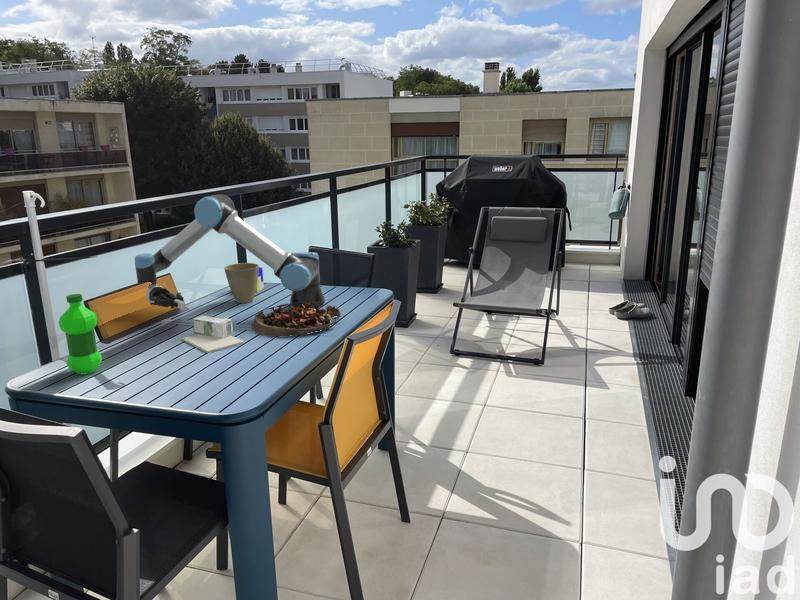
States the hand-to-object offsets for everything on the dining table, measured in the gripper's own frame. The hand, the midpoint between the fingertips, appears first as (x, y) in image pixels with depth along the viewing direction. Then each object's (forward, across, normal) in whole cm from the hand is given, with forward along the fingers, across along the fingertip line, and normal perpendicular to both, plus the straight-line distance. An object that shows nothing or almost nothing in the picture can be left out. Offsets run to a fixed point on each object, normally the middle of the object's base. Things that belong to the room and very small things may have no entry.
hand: (183, 306), depth 233 cm
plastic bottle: (+19, +42, -9) cm, 47 cm away
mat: (+22, 0, -9) cm, 24 cm away
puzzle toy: (-36, -50, -10) cm, 62 cm away
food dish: (+26, -34, -10) cm, 43 cm away
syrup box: (+9, -1, -6) cm, 11 cm away
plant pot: (-20, -37, -9) cm, 43 cm away
